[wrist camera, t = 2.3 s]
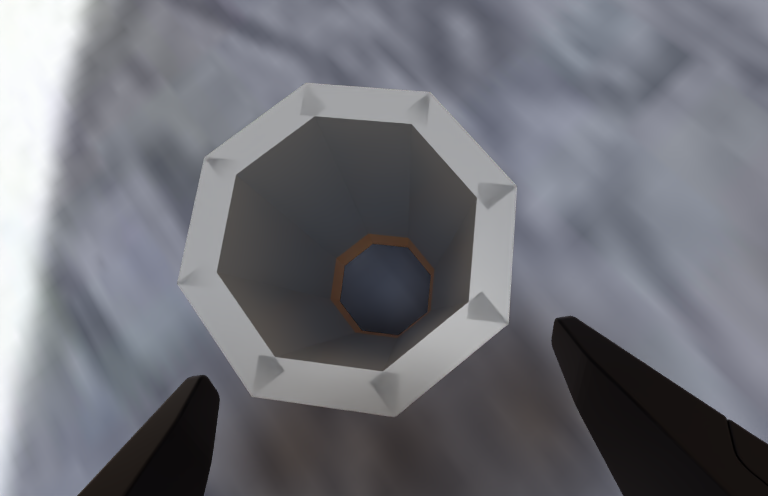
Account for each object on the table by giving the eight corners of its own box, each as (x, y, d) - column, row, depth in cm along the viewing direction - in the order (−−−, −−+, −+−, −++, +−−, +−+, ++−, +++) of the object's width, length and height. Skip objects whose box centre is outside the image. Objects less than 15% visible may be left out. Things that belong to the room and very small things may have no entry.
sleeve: (467, 297, 19) (585, 260, 7) (375, 372, 19) (311, 487, 6) (394, 210, 20) (375, 31, 8) (306, 279, 20) (129, 212, 7)
